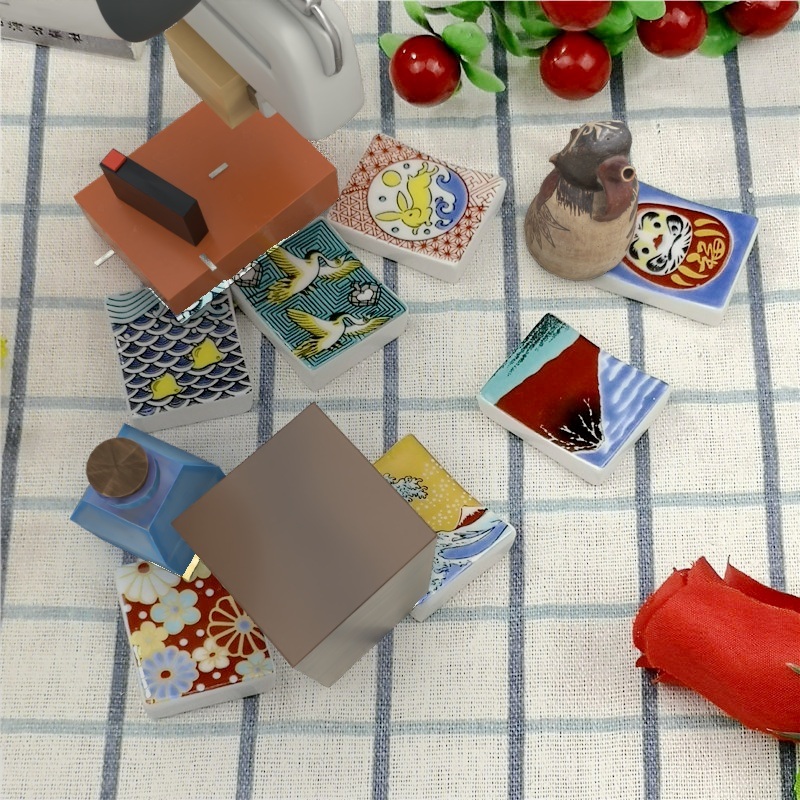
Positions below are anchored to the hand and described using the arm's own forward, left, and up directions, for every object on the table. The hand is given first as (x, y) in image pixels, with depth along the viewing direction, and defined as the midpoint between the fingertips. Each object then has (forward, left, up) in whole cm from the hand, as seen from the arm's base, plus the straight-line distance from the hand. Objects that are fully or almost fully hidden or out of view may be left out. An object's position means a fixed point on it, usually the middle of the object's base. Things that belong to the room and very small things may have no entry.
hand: (234, 69), depth 59 cm
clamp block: (-4, 0, -12) cm, 13 cm away
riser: (-15, -25, -12) cm, 32 cm away
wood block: (0, 0, -1) cm, 1 cm away
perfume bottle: (-20, -14, -12) cm, 27 cm away
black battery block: (-8, 0, -8) cm, 11 cm away
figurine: (+13, -18, -12) cm, 25 cm away
